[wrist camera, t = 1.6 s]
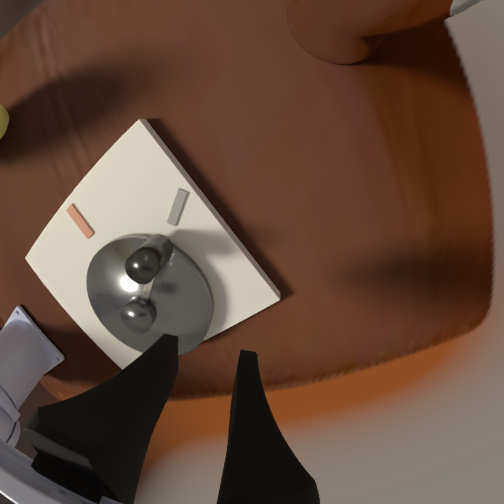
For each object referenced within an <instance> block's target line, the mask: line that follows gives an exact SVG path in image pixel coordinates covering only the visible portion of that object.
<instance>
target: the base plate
mask: <svg viewBox="0 0 504 504" xmlns="http://www.w3.org/2000/svg"><path fill="white" fill-rule="evenodd" d="M128 234H147V235H154V234H162V235H165V236H166V237H168V238H169V239H170V241H171V242H172V244H174V245H176V246H177V247H179V248H180V249H181V250H183V251H184V252H185V253H186V254H188V255H189V256H190V257H191V258H192V259H193V260H194V261H195V262H196V264H197V265H198V266H199V267H200V269H201V270H202V272H203V273H204V275H205V277H206V278H207V280H208V283H209V285H210V288H211V291H212V295H213V301H214V313H213V318H212V321H211V324H210V327H209V330H208V333H207V335H206V336H205V338H204V340H206V339H208V338H210V337H212V336H214V335H216V334H218V333H220V332H222V331H224V330H226V329H228V328H229V327H231V326H233V325H235V324H237V323H239V322H241V321H243V320H244V319H246V318H248V317H250V316H252V315H254V314H255V313H257V312H259V311H261V310H263V309H265V308H266V307H268V306H270V305H272V304H274V303H275V302H277V301H279V300H280V291H279V290H278V289H277V288H276V286H275V285H274V284H273V283H272V281H271V280H270V279H269V277H268V276H267V275H266V274H265V272H264V271H263V270H262V268H261V267H260V266H259V265H258V263H257V262H256V261H255V259H254V258H253V257H252V256H251V254H250V253H249V252H248V250H247V249H246V248H245V247H244V245H243V244H242V243H241V241H240V240H239V239H238V238H237V236H236V235H235V234H234V233H233V231H232V230H231V229H230V227H229V226H228V225H227V224H226V222H225V221H224V220H223V218H222V217H221V216H220V215H219V213H218V212H217V211H216V209H215V208H214V207H213V206H212V204H211V203H210V202H209V200H208V199H207V198H206V197H205V195H204V194H203V193H202V191H201V190H200V189H199V188H198V186H197V185H196V184H195V182H194V181H193V180H192V178H191V177H190V176H189V175H188V173H187V172H186V171H185V169H184V168H183V167H182V166H181V164H180V163H179V162H178V160H177V159H176V158H175V157H174V155H173V154H172V153H171V151H170V150H169V149H168V148H167V146H166V145H165V144H164V142H163V141H162V140H161V139H160V137H159V136H158V135H157V133H156V132H155V131H154V129H153V128H152V127H151V126H150V124H149V123H148V122H147V120H146V119H139V120H138V121H137V122H136V123H135V124H134V125H133V126H132V127H131V128H130V129H129V130H128V131H127V132H126V133H125V134H124V135H123V136H122V137H121V138H120V139H119V140H118V141H117V142H116V143H115V144H114V145H113V146H112V147H111V148H110V149H109V150H108V151H107V152H106V153H105V155H104V156H103V157H102V158H101V159H100V160H99V161H98V162H97V163H96V165H95V166H94V167H93V168H92V169H91V170H90V171H89V173H88V174H87V175H86V176H85V177H84V178H83V180H82V181H81V182H80V183H79V184H78V186H77V187H76V188H75V189H74V191H73V192H72V193H71V194H70V196H69V197H68V198H67V199H66V201H65V202H64V203H63V205H62V206H61V207H60V208H59V210H58V211H57V212H56V214H55V215H54V217H53V218H52V219H51V221H50V222H49V223H48V225H47V226H46V228H45V229H44V230H43V232H42V233H41V235H40V236H39V238H38V239H37V241H36V242H35V244H34V245H33V247H32V248H31V250H30V251H29V253H28V254H27V256H26V258H25V259H26V260H27V262H28V263H29V264H30V266H31V267H32V269H33V270H34V271H35V273H36V274H37V275H38V277H39V278H40V279H41V281H42V282H43V283H44V285H45V286H46V287H47V288H48V290H49V291H50V292H51V293H52V295H53V296H54V297H55V298H56V300H57V301H58V302H59V303H60V304H61V306H62V307H63V308H64V309H65V310H66V311H67V313H68V314H69V315H70V316H71V317H72V318H73V320H74V321H75V322H76V323H77V324H78V325H79V326H80V327H81V328H82V330H83V331H84V332H85V333H86V334H87V335H88V336H89V337H90V338H91V339H92V340H93V341H94V342H95V343H96V344H97V345H98V346H99V347H100V348H101V349H102V350H103V351H104V352H105V353H106V354H107V355H108V356H109V357H110V358H111V359H112V360H113V361H114V362H115V363H116V364H117V365H118V366H119V367H120V368H121V369H124V368H125V367H126V366H128V365H129V364H130V363H132V362H133V361H134V360H135V359H136V358H138V357H139V356H140V355H141V354H142V352H139V351H136V350H134V349H132V348H130V347H128V346H127V345H125V344H123V343H122V342H120V341H119V340H118V339H117V338H115V337H114V336H113V335H112V334H111V333H110V332H109V331H108V330H107V329H106V328H105V327H104V326H103V325H102V323H101V322H100V320H99V319H98V318H97V316H96V314H95V312H94V311H93V308H92V306H91V304H90V301H89V298H88V294H87V287H86V276H87V271H88V267H89V264H90V262H91V260H92V258H93V257H94V255H95V254H96V253H97V252H98V251H99V250H100V249H101V248H102V247H104V246H105V245H106V244H108V243H109V242H110V241H112V240H114V239H115V238H118V237H120V236H123V235H128ZM204 340H203V341H204Z"/></svg>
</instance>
